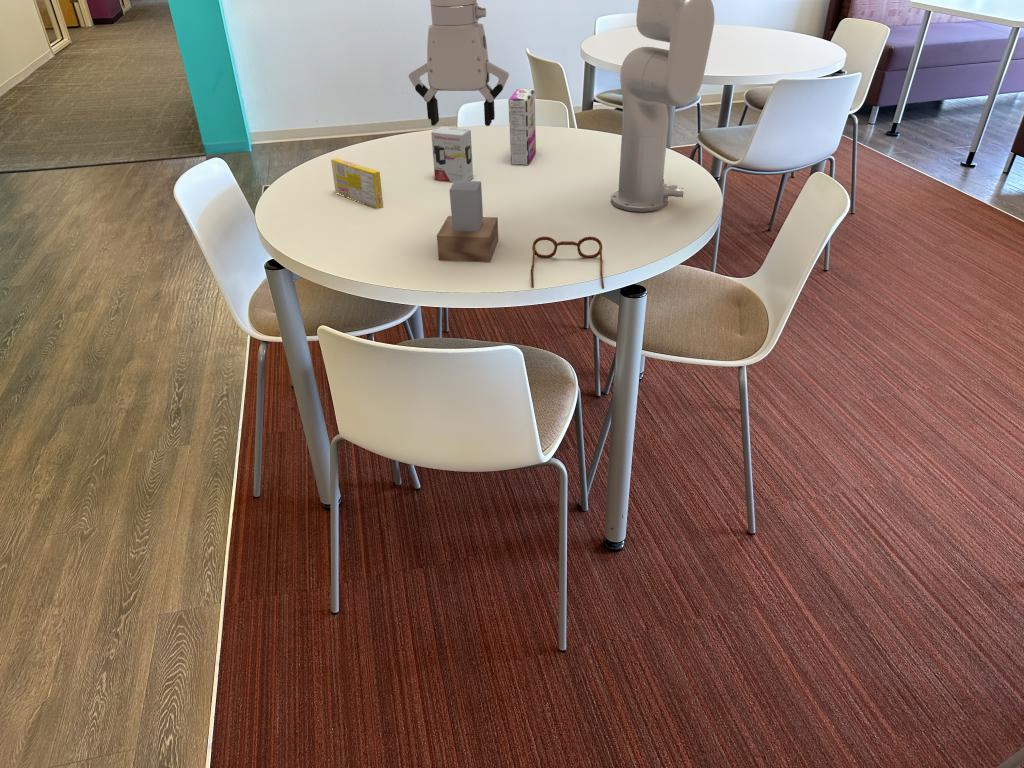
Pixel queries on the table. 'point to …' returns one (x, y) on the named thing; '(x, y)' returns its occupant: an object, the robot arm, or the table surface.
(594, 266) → the table surface
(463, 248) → the block
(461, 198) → the grey block
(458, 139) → the ink box
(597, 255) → the glasses
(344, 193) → the candy box
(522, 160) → the candy bar box
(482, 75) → the robot arm
